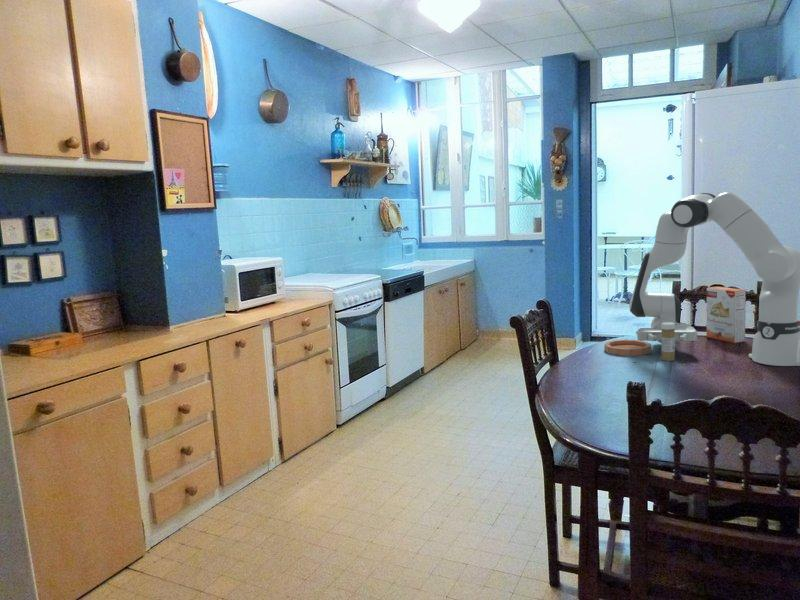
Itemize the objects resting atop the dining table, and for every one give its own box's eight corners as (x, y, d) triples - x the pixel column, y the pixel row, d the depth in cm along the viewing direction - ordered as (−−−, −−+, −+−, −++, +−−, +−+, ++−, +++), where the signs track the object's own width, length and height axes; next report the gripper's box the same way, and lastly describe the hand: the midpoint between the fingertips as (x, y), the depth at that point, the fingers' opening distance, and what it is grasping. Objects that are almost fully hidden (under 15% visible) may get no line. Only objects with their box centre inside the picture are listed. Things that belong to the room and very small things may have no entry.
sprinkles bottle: (666, 357, 219) (666, 321, 217) (677, 359, 215) (677, 323, 213) (658, 359, 216) (658, 323, 215) (669, 362, 213) (669, 324, 211)
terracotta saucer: (624, 344, 244) (624, 338, 244) (660, 350, 230) (660, 344, 230) (596, 350, 236) (595, 344, 235) (631, 357, 222) (631, 351, 221)
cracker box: (705, 337, 246) (705, 287, 243) (717, 336, 248) (717, 285, 245) (733, 343, 233) (734, 290, 230) (745, 342, 234) (746, 289, 232)
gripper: (635, 323, 232) (636, 330, 219) (693, 323, 225) (699, 330, 212) (635, 339, 232) (637, 347, 220) (693, 339, 226) (699, 347, 213)
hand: (668, 338), depth 216 cm, fingers open, 8 cm apart
